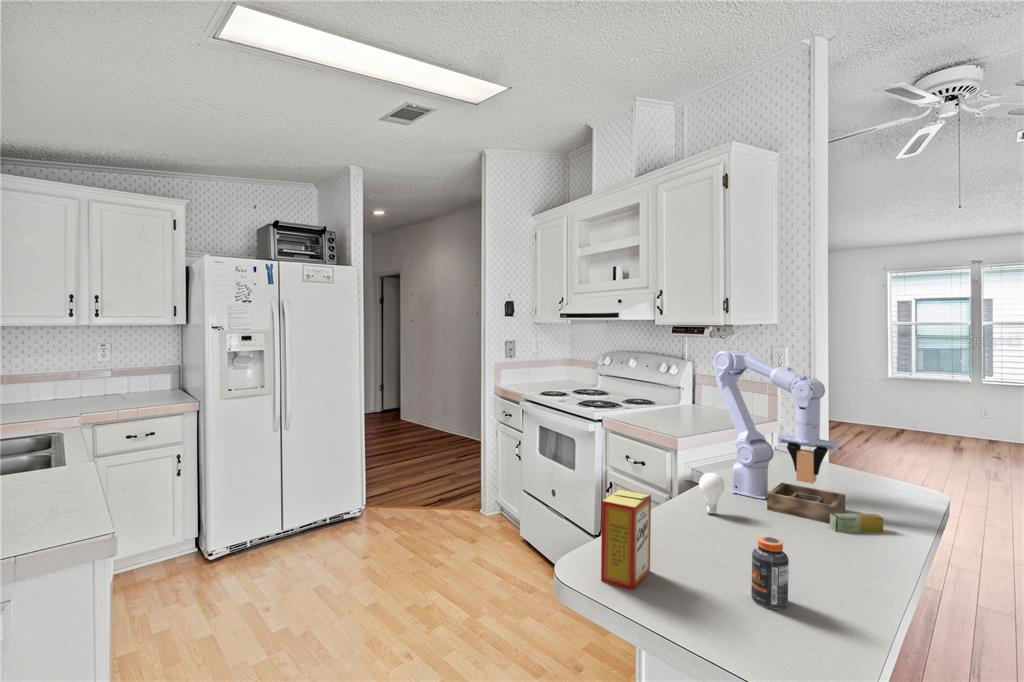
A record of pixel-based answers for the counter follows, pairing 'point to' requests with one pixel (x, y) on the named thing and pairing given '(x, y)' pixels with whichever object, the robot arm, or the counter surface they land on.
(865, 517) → the medication box
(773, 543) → the pill bottle
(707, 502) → the lightbulb
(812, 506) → the walled box
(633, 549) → the baking soda box
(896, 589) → the counter surface
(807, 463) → the peach plain square-edged block
